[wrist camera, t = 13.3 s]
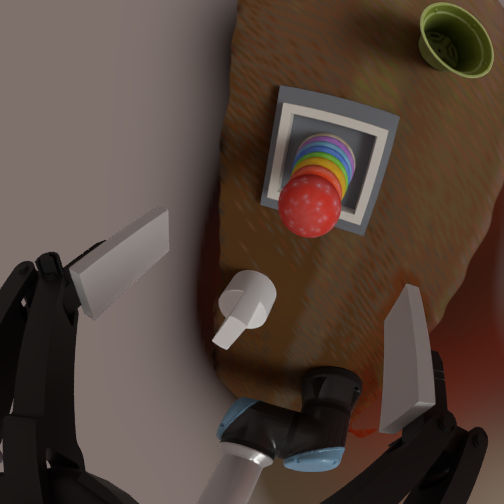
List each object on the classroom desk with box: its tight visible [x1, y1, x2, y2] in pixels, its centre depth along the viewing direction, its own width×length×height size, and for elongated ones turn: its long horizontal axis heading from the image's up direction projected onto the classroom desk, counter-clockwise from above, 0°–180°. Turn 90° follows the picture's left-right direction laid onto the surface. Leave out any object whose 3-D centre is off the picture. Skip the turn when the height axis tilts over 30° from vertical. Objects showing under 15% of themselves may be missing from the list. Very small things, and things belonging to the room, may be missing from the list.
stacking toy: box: [278, 133, 355, 238], centre depth 27 cm, size 8×8×19 cm
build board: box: [260, 85, 400, 236], centre depth 34 cm, size 18×16×4 cm
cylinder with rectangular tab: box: [212, 270, 276, 350], centre depth 47 cm, size 9×9×12 cm
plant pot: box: [418, 3, 494, 78], centre depth 18 cm, size 9×9×9 cm
